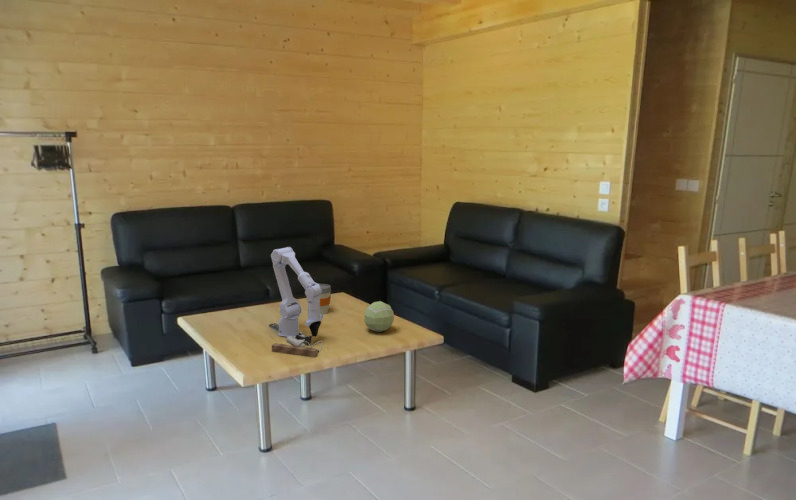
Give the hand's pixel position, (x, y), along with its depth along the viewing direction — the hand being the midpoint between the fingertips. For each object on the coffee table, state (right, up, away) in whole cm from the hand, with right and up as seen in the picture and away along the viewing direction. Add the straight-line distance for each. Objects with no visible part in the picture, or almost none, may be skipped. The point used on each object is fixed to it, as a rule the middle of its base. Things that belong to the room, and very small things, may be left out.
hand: (314, 336), depth 280 cm
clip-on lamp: (-3, -5, -10) cm, 11 cm away
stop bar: (-7, -5, -16) cm, 18 cm away
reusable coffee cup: (-3, +6, +47) cm, 48 cm away
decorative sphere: (+31, 0, +16) cm, 35 cm away
